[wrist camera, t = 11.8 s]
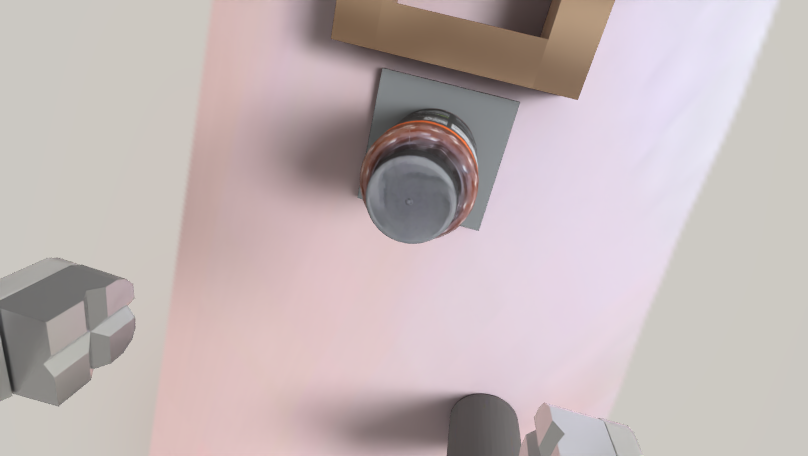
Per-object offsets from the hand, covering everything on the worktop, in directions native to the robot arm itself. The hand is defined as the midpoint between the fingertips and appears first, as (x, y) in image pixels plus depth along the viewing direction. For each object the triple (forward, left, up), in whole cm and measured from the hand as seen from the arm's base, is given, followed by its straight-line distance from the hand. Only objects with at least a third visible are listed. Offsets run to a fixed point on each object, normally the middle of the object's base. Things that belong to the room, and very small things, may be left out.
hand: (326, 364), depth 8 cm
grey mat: (0, 0, -23) cm, 23 cm away
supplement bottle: (0, 0, -22) cm, 22 cm away
